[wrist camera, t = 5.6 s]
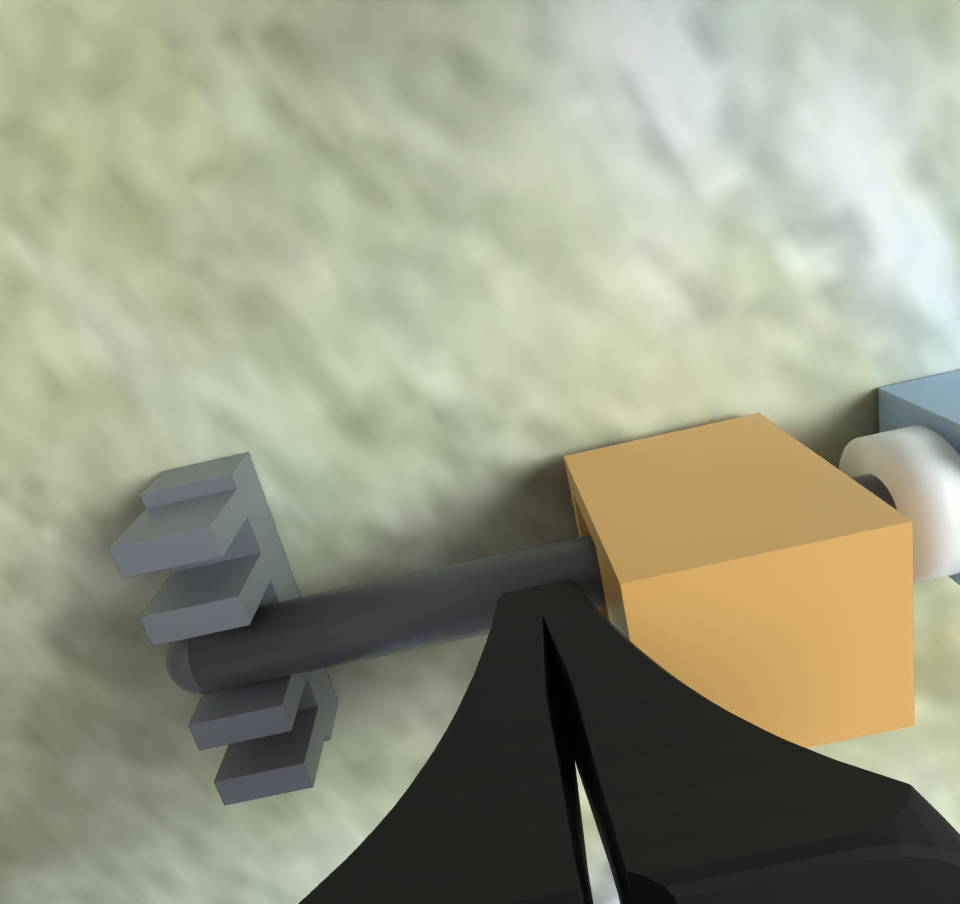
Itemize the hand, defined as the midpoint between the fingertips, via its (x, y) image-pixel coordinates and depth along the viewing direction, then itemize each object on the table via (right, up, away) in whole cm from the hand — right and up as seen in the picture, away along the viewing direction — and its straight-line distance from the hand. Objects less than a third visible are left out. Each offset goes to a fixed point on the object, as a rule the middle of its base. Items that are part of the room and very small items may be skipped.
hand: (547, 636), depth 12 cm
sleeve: (+3, +2, +3) cm, 5 cm away
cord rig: (+1, +2, +3) cm, 4 cm away
